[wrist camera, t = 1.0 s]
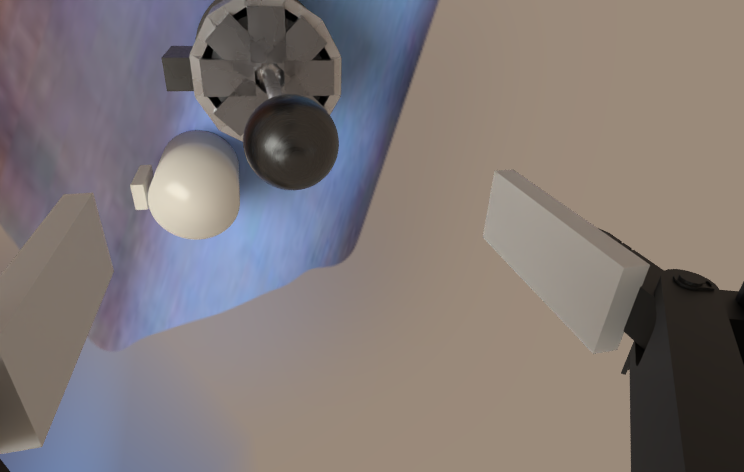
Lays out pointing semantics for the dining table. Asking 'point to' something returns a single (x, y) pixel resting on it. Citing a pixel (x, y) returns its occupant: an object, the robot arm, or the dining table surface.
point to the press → (254, 59)
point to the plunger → (287, 133)
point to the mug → (191, 186)
